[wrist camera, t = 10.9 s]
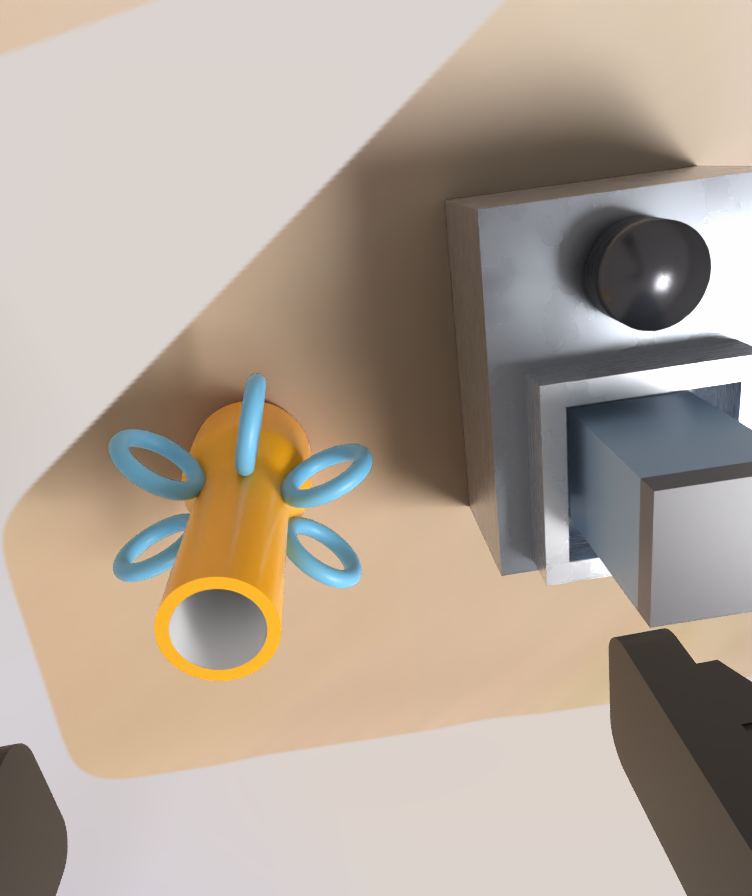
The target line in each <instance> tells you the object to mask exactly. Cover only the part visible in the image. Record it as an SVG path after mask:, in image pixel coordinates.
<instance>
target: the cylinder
mask: <svg viewBox="0 0 752 896" xmlns="http://www.w3.org/2000/svg"><path fill="white" fill-rule="evenodd" d="M265 392H266V380H265V378H264V377H263V376H262V375H261V374H257V373H256V374H252V375H250V376H249V378H248V379H247V382H246V386H245V391H244V396H243V401H241V402H235V403H232V404H229V405H226V406H224V407H222V408H220V409H219V410H217V411H215V412H214V413H213V414H212V415H210V416H209V417H208V418H207V419H206V420H205V422H204V423H203V424H202V426H201V427H200V429H199V431H198V433H197V435H196V437H195V440H194V442H193V444H192V447H191V449H190V452H187V451H186V450H185V449H184V448H182V447H181V446H179V445H178V444H176V443H175V442H173V441H171V440H169V439H167V438H165V437H163V436H161V435H158V434H156V433H153V432H150V431H146V430H140V429H126V430H122V431H120V432H118V433H116V434H115V435H114V436H113V437H112V438H111V440H110V442H109V454H110V457H111V459H112V461H113V463H114V465H115V466H116V467H117V469H118V470H119V471H120V472H121V473H122V474H123V475H124V476H125V477H126V478H128V479H129V480H130V481H131V482H133V483H134V484H136V485H137V486H139V487H140V488H142V489H144V490H146V491H148V492H150V493H152V494H155V495H157V496H160V497H163V498H167V499H172V500H184V502H185V505H186V507H187V509H188V511H189V512H190V514H179V515H175V516H172V517H169V518H166V519H164V520H161V521H159V522H157V523H155V524H153V525H152V526H150V527H148V528H147V529H145V530H143V531H142V532H140V533H139V534H138V535H136V536H135V537H134V538H133V539H131V540H130V541H129V542H128V543H127V544H126V545H125V546H124V547H123V548H122V549H121V550H120V552H119V553H118V554H117V556H116V558H115V560H114V563H113V571H114V574H115V576H116V577H117V578H118V579H120V580H122V581H125V582H138V581H142V580H146V579H149V578H152V577H154V576H156V575H159V574H161V573H163V572H164V571H166V570H168V569H170V568H171V567H173V568H172V571H171V573H170V576H169V579H168V582H167V585H166V588H165V591H164V594H163V597H162V600H161V603H160V606H159V609H158V612H157V615H156V618H155V626H154V630H155V637H156V641H157V644H158V646H159V648H160V650H161V652H162V653H163V655H164V656H165V657H166V658H167V660H168V661H169V662H170V663H172V664H173V665H174V666H175V667H176V668H178V669H179V670H181V671H183V672H185V673H187V674H189V675H191V676H194V677H197V678H201V679H205V680H213V681H225V680H233V679H237V678H241V677H244V676H247V675H249V674H251V673H253V672H255V671H257V670H258V669H260V668H261V667H262V666H263V665H265V664H266V663H267V662H268V661H269V660H270V658H271V657H272V656H273V654H274V653H275V651H276V649H277V647H278V645H279V642H280V637H281V626H282V610H283V594H284V578H285V563H286V555H287V556H288V557H289V559H290V560H291V561H292V562H293V563H294V564H295V565H296V566H297V567H298V568H299V569H300V570H302V571H303V572H304V573H305V574H307V575H308V576H310V577H311V578H313V579H315V580H316V581H318V582H320V583H323V584H325V585H328V586H331V587H335V588H349V587H352V586H354V585H355V584H356V583H357V582H358V581H359V580H360V578H361V575H362V567H361V563H360V560H359V558H358V556H357V555H356V553H355V552H354V550H353V549H352V548H351V546H350V545H349V544H348V543H347V542H346V541H345V540H344V539H343V538H342V537H340V536H339V535H338V534H337V533H335V532H334V531H332V530H331V529H329V528H328V527H326V526H324V525H323V524H321V523H318V522H316V521H314V520H311V519H307V518H301V516H302V515H303V513H304V511H305V509H306V508H310V507H315V506H319V505H322V504H325V503H328V502H330V501H333V500H335V499H337V498H339V497H341V496H343V495H344V494H346V493H348V492H349V491H351V490H352V489H353V488H355V487H356V486H357V485H358V484H359V483H360V482H362V481H363V479H364V478H365V477H366V476H367V475H368V473H369V471H370V470H371V467H372V463H373V458H372V454H371V452H370V451H369V450H368V449H367V448H366V447H364V446H362V445H359V444H344V445H339V446H335V447H332V448H329V449H326V450H324V451H321V452H319V453H317V454H315V455H313V456H311V449H310V444H309V440H308V438H307V435H306V433H305V431H304V430H303V428H302V426H301V425H300V424H299V423H298V421H297V420H296V419H295V418H294V417H293V416H292V415H290V414H289V413H288V412H286V411H285V410H283V409H281V408H279V407H277V406H275V405H272V404H269V403H265V402H264V400H265ZM130 447H139V448H144V449H148V450H151V451H153V452H156V453H158V454H160V455H162V456H164V457H165V458H167V459H168V460H170V461H171V462H173V463H174V464H175V465H176V466H178V467H179V468H180V469H181V470H182V478H181V481H175V480H171V479H168V478H165V477H163V476H160V475H158V474H156V473H154V472H153V471H151V470H149V469H148V468H146V467H145V466H143V465H142V464H141V463H140V462H139V461H138V460H137V459H136V458H135V457H134V456H133V455H132V454H131V452H130V450H129V448H130ZM347 461H354V462H353V464H352V465H351V466H350V467H349V468H348V469H347V470H346V471H345V472H343V473H342V474H340V475H339V476H337V477H336V478H334V479H332V480H331V481H329V482H326V483H324V484H322V485H319V486H316V487H313V488H311V477H312V476H313V475H314V474H316V473H318V472H319V471H321V470H323V469H325V468H327V467H330V466H332V465H335V464H338V463H342V462H347ZM180 531H185V532H184V533H183V535H182V536H181V537H180V538H179V539H178V540H177V541H176V542H175V543H173V544H172V545H171V546H169V547H168V548H167V549H165V550H164V551H162V552H160V553H159V554H157V555H155V556H153V557H151V558H149V559H147V560H144V561H141V562H138V563H133V562H134V561H135V560H136V558H137V557H138V556H139V555H140V554H141V553H142V552H144V551H145V550H146V549H147V548H149V547H150V546H151V545H153V544H154V543H156V542H157V541H159V540H161V539H163V538H165V537H167V536H169V535H171V534H174V533H177V532H180ZM296 534H302V535H306V536H309V537H311V538H314V539H316V540H317V541H319V542H321V543H322V544H324V545H325V546H326V547H328V548H329V549H330V550H331V551H332V552H333V553H334V554H335V555H336V556H337V557H338V558H339V559H340V561H341V562H342V564H343V566H344V568H345V570H338V569H335V568H332V567H330V566H328V565H326V564H324V563H322V562H321V561H319V560H318V559H316V558H315V557H314V556H312V555H311V554H310V553H309V552H308V551H307V550H306V549H305V548H304V547H303V546H302V544H301V543H300V542H299V540H298V538H297V535H296Z"/></svg>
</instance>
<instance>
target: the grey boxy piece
mask: <svg viewBox="0 0 752 896" xmlns="http://www.w3.org/2000/svg"><path fill="white" fill-rule="evenodd" d="M445 210H446V222H447V234H448V247H449V259H450V271H451V283H452V296H453V308H454V320H455V332H456V344H457V357H458V369H459V381H460V393H461V406H462V418H463V430H464V442H465V455H466V467H467V479H468V491H469V503H470V509H471V511H472V513H473V515H474V517H475V519H476V522H477V524H478V526H479V528H480V530H481V532H482V535H483V537H484V539H485V541H486V543H487V545H488V547H489V550H490V552H491V554H492V556H493V558H494V560H495V563H496V565H497V567H498V569H499V571H500V573H501V576H504V575H510V574H517V573H523V572H530V571H536V570H538V571H539V572H540V574H541V576H542V578H543V580H544V581H545V583H546V585H547V586H549V585H555V584H561V583H568V582H574V581H581V580H587V579H594V578H600V577H607V576H612V575H611V573H610V572H609V571H608V569H607V568H606V567H605V565H604V564H603V562H602V561H601V560H600V558H599V557H598V556H597V554H596V553H595V552H594V550H593V549H592V547H591V546H590V545H589V543H588V542H587V541H586V539H585V538H584V536H583V535H582V534H581V532H580V531H579V530H578V528H577V527H576V525H575V524H574V523H573V521H572V520H571V513H570V463H569V412H568V409H573V408H580V407H587V406H594V405H600V404H607V403H614V402H621V401H628V400H635V399H642V398H648V397H655V396H662V395H669V394H676V393H683V392H692V393H693V394H695V395H697V396H698V397H700V398H702V399H703V400H705V401H707V402H708V403H710V404H712V405H713V406H715V407H716V408H718V409H720V410H721V411H723V412H725V413H726V414H728V415H730V416H731V417H733V418H735V419H736V420H738V421H740V422H741V423H743V424H745V425H746V426H748V427H750V428H751V429H752V166H693V167H685V168H678V169H671V170H663V171H656V172H649V173H641V174H634V175H627V176H619V177H612V178H605V179H597V180H590V181H583V182H575V183H568V184H561V185H553V186H546V187H539V188H531V189H524V190H517V191H509V192H502V193H495V194H487V195H480V196H473V197H465V198H458V199H451V200H445Z"/></svg>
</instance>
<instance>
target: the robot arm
mask: <svg viewBox="0 0 752 896" xmlns="http://www.w3.org/2000/svg"><path fill="white" fill-rule="evenodd" d="M609 681H610V719H611V728H612V735H613V739H614V743H615V747H616V750H617V753H618V756H619V759H620V762H621V764H622V766H623V769H624V771H625V773H626V775H627V777H628V779H629V781H630V783H631V785H632V787H633V789H634V791H635V793H636V795H637V797H638V799H639V801H640V803H641V805H642V807H643V809H644V811H645V813H646V814H647V816H648V819H649V821H650V823H651V825H652V826H653V829H654V831H655V832H656V835H657V837H658V838H659V841H660V842H661V845H662V846H663V848H664V850H665V852H666V854H667V856H668V858H669V860H670V862H671V864H672V866H673V868H674V870H675V872H676V874H677V876H678V878H679V880H680V882H681V884H682V886H683V888H684V890H685V892H686V894H687V896H752V682H751V681H749V680H748V679H746V678H745V677H743V676H742V675H740V674H739V673H737V672H735V671H734V670H732V669H731V668H729V667H728V666H726V665H725V664H723V663H722V662H720V661H718V660H714V661H709V662H703V663H698V664H696V663H695V662H694V660H693V659H692V658H691V656H690V655H689V654H688V652H687V651H686V650H685V648H684V647H683V646H682V644H681V643H680V641H679V640H678V639H677V637H676V636H675V635H674V634H673V633H672V632H671V631H670V630H668V629H665V628H664V629H658V630H653V631H647V632H642V633H636V634H631V635H625V636H620V637H614V638H612V639H611V640H610V643H609ZM66 858H67V831H66V826H65V822H64V819H63V817H62V815H61V813H60V810H59V808H58V806H57V804H56V802H55V800H54V798H53V795H52V793H51V792H50V789H49V787H48V785H47V783H46V781H45V778H44V776H43V774H42V772H41V770H40V768H39V766H38V764H37V761H36V759H35V757H34V755H33V753H32V751H31V750H30V749H29V748H28V746H26V745H24V744H21V743H20V744H13V745H8V746H2V747H0V896H56V893H57V890H58V887H59V884H60V881H61V878H62V875H63V872H64V869H65V864H66Z"/></svg>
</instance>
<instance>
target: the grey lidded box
mask: <svg viewBox="0 0 752 896" xmlns="http://www.w3.org/2000/svg"><path fill="white" fill-rule="evenodd" d="M568 412H569V463H570V513H571V520H572V521H573V523H574V524H575V525H576V527H577V528H578V530H579V531H580V532H581V534H582V535H583V536H584V538H585V539H586V541H587V542H588V543H589V545H590V546H591V547H592V549H593V550H594V552H595V553H596V554H597V556H598V557H599V558H600V560H601V561H602V562H603V564H604V565H605V567H606V568H607V569H608V571H609V572H610V573H611V575H612V576H613V578H614V579H615V580H616V582H617V583H618V584H619V586H620V587H621V589H622V590H623V591H624V593H625V594H626V595H627V597H628V598H629V599H630V601H631V602H632V604H633V605H634V606H635V608H636V609H637V610H638V612H639V613H640V615H641V616H642V617H643V619H644V620H645V621H646V623H647V624H648V626H649V627H650V628H651V627H658V626H664V625H670V624H677V623H683V622H690V621H696V620H702V619H709V618H715V617H721V616H728V615H734V614H741V613H747V612H752V429H751V428H750V427H748V426H746V425H745V424H743V423H741V422H740V421H738V420H736V419H735V418H733V417H731V416H730V415H728V414H726V413H725V412H723V411H721V410H720V409H718V408H716V407H715V406H713V405H712V404H710V403H708V402H707V401H705V400H703V399H702V398H700V397H698V396H697V395H695V394H693V393H692V392H683V393H676V394H669V395H662V396H655V397H648V398H642V399H635V400H628V401H621V402H614V403H607V404H600V405H594V406H587V407H580V408H573V409H568Z"/></svg>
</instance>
